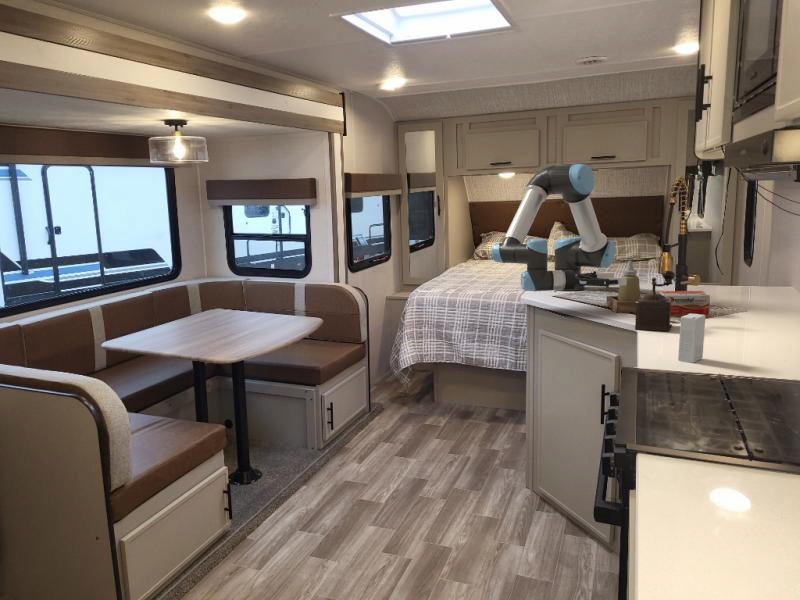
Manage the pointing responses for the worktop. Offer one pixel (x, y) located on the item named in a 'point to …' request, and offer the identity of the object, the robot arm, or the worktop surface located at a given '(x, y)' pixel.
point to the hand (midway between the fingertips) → (620, 278)
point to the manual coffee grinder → (655, 308)
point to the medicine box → (688, 302)
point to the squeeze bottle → (629, 285)
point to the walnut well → (621, 305)
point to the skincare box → (691, 338)
